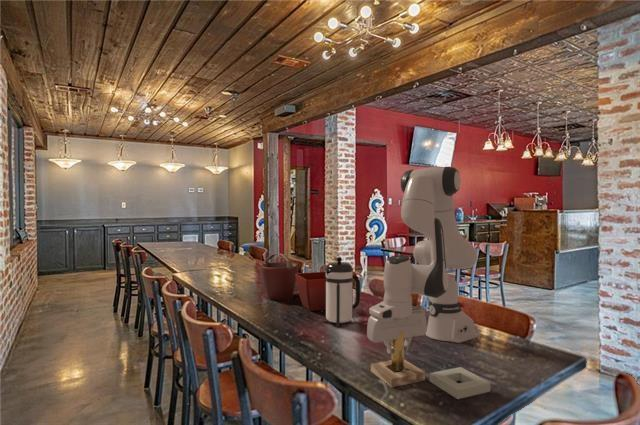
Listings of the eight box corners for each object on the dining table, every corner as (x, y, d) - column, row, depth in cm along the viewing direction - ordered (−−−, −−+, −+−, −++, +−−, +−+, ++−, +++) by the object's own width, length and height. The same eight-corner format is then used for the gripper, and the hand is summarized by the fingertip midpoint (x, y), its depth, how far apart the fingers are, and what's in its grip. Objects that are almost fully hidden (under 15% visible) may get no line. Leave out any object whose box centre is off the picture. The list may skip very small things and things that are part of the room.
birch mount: (402, 365, 131) (402, 358, 131) (424, 380, 120) (424, 372, 120) (370, 371, 127) (370, 363, 127) (391, 387, 116) (391, 379, 116)
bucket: (256, 293, 237) (256, 252, 236) (290, 290, 246) (290, 250, 246) (268, 303, 215) (268, 257, 214) (305, 299, 224) (305, 255, 223)
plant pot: (341, 310, 201) (341, 277, 200) (306, 313, 194) (306, 279, 193) (327, 301, 218) (327, 271, 218) (294, 304, 211) (294, 273, 211)
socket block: (460, 374, 124) (460, 366, 124) (490, 391, 113) (490, 382, 113) (429, 381, 120) (429, 373, 120) (457, 399, 109) (457, 390, 108)
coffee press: (356, 329, 170) (356, 259, 169) (319, 326, 173) (319, 258, 173) (360, 317, 187) (360, 254, 186) (327, 315, 190) (327, 253, 190)
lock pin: (399, 364, 126) (399, 327, 126) (406, 369, 122) (406, 331, 122) (388, 366, 125) (388, 329, 124) (395, 371, 121) (395, 333, 121)
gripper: (418, 302, 130) (418, 343, 130) (364, 309, 122) (364, 353, 122) (431, 307, 124) (431, 350, 124) (374, 314, 116) (374, 360, 117)
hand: (397, 351), depth 123 cm, fingers closed on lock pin, 4 cm apart
